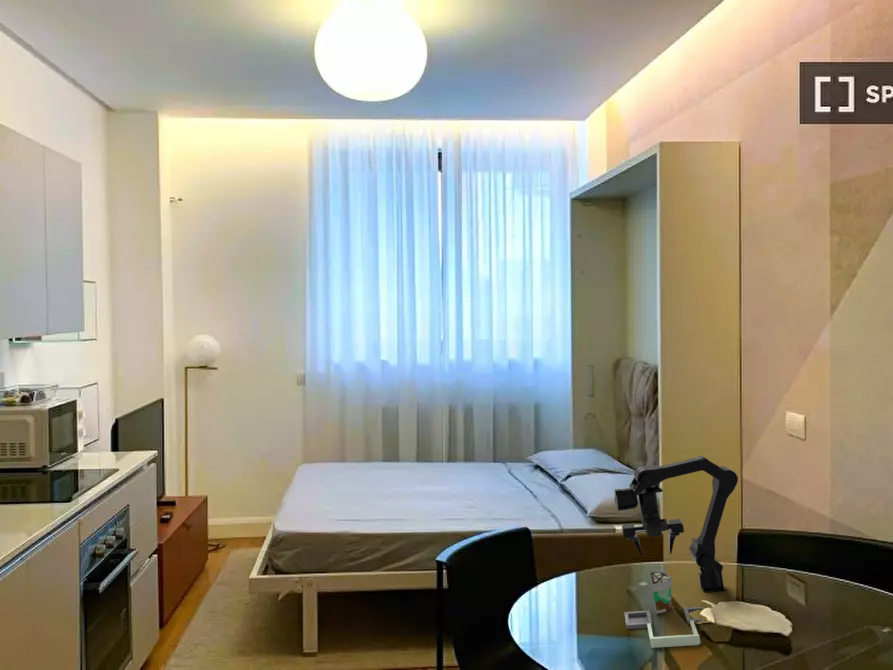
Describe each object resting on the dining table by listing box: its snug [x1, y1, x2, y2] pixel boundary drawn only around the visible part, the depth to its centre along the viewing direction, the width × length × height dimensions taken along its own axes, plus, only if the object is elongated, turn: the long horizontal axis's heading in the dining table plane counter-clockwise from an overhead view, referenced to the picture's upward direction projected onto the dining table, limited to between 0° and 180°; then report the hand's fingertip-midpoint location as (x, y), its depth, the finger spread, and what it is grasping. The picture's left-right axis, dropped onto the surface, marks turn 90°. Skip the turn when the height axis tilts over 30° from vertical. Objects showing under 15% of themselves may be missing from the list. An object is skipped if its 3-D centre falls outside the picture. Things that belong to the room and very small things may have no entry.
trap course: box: [623, 606, 706, 649], centre depth 215 cm, size 25×22×2 cm
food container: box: [649, 569, 674, 617], centre depth 229 cm, size 12×6×10 cm, turn 168°
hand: (656, 554), depth 239 cm, fingers open, 9 cm apart
